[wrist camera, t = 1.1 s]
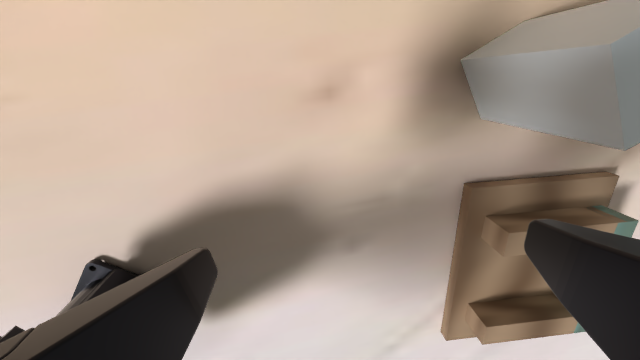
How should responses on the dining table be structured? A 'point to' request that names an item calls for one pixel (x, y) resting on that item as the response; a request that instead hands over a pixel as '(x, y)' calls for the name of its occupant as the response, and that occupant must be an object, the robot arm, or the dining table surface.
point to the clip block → (565, 75)
